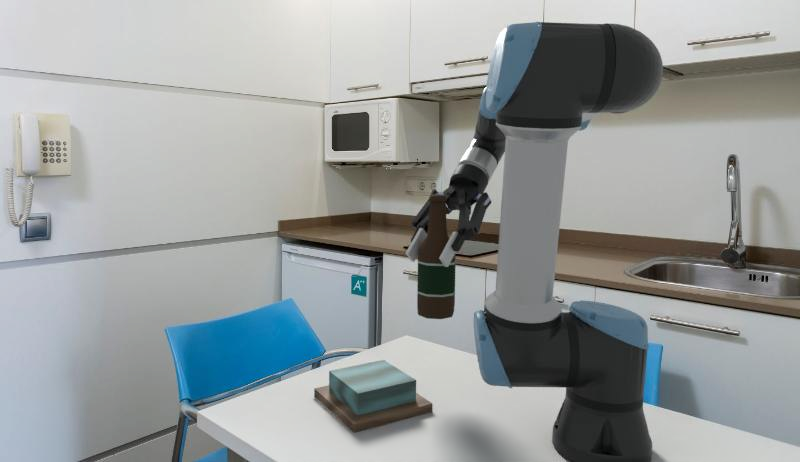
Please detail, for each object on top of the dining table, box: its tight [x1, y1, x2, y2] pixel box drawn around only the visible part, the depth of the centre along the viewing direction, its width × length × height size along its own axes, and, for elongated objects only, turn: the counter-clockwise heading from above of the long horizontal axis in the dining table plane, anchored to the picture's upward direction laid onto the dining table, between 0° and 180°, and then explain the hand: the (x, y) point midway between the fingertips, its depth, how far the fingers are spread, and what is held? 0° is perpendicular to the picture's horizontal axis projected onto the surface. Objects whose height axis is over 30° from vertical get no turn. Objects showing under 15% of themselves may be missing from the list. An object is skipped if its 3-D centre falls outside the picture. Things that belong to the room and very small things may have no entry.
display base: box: [313, 359, 434, 433], centre depth 107 cm, size 17×16×6 cm
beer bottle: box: [416, 194, 457, 320], centre depth 113 cm, size 8×8×24 cm
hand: (426, 259), depth 110 cm, fingers closed on beer bottle, 7 cm apart
